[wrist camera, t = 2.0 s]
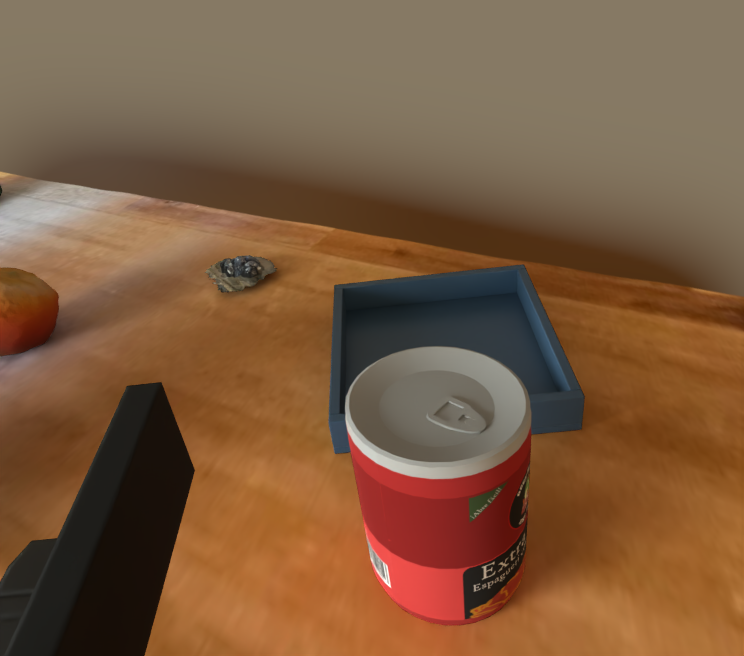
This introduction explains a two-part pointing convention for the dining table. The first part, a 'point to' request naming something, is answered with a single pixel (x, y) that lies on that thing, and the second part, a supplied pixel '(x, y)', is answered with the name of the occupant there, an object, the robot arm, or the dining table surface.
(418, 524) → the canned food
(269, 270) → the grey mineral rock
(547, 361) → the tray
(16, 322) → the fruit
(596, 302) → the dining table surface
